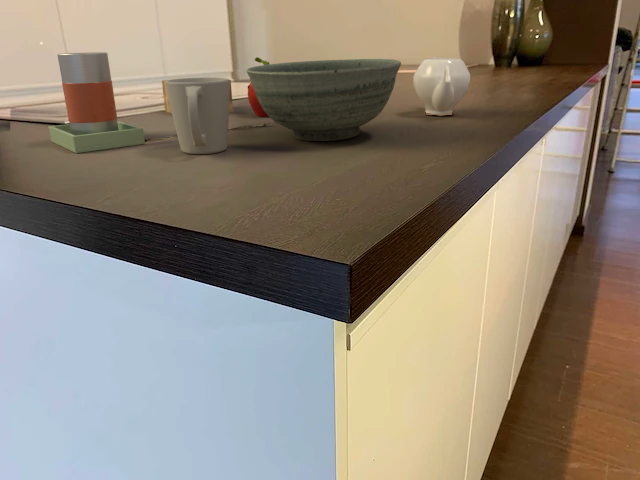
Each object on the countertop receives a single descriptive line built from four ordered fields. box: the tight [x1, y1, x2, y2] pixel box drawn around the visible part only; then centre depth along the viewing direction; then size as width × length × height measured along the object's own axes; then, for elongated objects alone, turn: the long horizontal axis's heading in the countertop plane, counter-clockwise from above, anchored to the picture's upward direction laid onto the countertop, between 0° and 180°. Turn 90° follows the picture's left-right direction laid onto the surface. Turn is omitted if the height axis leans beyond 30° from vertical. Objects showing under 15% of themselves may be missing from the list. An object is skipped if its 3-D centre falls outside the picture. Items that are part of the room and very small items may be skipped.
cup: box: [165, 76, 231, 155], centre depth 65 cm, size 8×10×8 cm
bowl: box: [245, 58, 402, 142], centre depth 74 cm, size 21×21×10 cm
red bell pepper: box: [247, 56, 270, 118], centre depth 91 cm, size 8×7×10 cm
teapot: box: [412, 56, 472, 114], centre depth 92 cm, size 10×20×9 cm, turn 174°
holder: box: [161, 79, 234, 114], centre depth 97 cm, size 9×9×6 cm
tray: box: [48, 120, 146, 154], centre depth 73 cm, size 11×9×2 cm
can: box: [57, 51, 119, 136], centre depth 71 cm, size 6×6×11 cm
